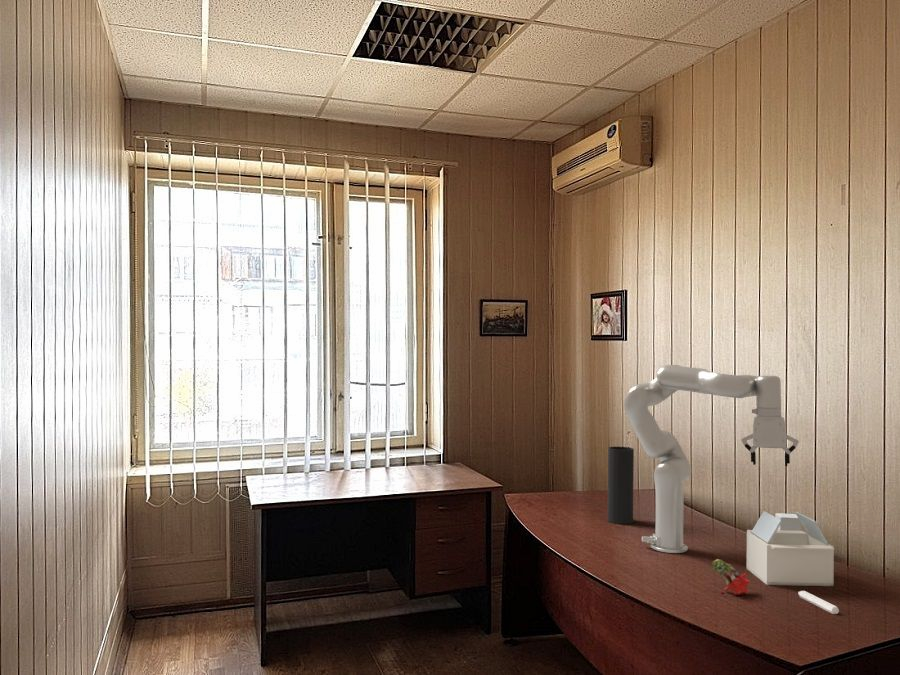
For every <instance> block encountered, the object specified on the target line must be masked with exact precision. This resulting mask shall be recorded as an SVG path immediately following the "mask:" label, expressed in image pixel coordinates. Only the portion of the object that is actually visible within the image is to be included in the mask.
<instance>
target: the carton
mask: <svg viewBox="0 0 900 675" xmlns="http://www.w3.org/2000/svg"><path fill="white" fill-rule="evenodd" d="M752 530H753V529H747V530H746V570H747V571H749V572H750V573H752V574H753V576H755V577H756V578H757V579H759V580H760V581H761V582H762V583H764V584H765V585H766V586H812V587H814V586H815V587H819V586H820V587H834V574H835V573H834V567H835V566H834V565H835V564H834V560H835V558H834V556H835V554H834V551H835V550H836V549H835V548H834V547H835V546H834V545H831V543H828V544H825V543H823V542H821V541H819V540H818V539H816V538H814V537H812V536H810V535H809V534H807V532H806V531H804V530H802V531H785V530H777V531H776V533H775V534H774V536H773V538H772V539H771V541H770V543H767V542H766V541H764V540H763V539H761V538H760V537H758V536H756V535H755V534H753V533H752Z"/></svg>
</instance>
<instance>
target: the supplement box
mask: <svg viewBox="0 0 900 675" xmlns="http://www.w3.org/2000/svg"><path fill="white" fill-rule="evenodd" d="M774 517H776V518H778V519H779V520H781V521H782V523H781V524H780V526H779V528H778V529H777V530H785V531H803V530H802V529H803V525H802V524H801V522H800V520H799V518H798V517H797V515H796V513H781V512H780V513H779V512H778V513H777V512H775V515H774Z"/></svg>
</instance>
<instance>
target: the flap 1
mask: <svg viewBox="0 0 900 675" xmlns="http://www.w3.org/2000/svg"><path fill="white" fill-rule="evenodd" d="M781 523H782V521H781V520H779V519H778V518H776V517H775V515H772V514H771V513H769V512H767V511H765V510H763V512H762V513H761V514H760V517H759V519H758V520H757V522H756V523H755V525H754V526H753V529H751V530H752V533H753V534H755V535H756V536H758V537H760V538H761V539H763V540H764V541H766V542H767V543H770V541H771V539H772V538H773V536H774V534H775V533H776V531H777V529H778V528H779V526H780V524H781Z"/></svg>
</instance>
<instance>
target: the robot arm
mask: <svg viewBox="0 0 900 675" xmlns="http://www.w3.org/2000/svg"><path fill="white" fill-rule="evenodd" d="M781 382H782V381H781V378H780V377H779V376H777V375H751V374H739V375H738V374H735V375H734V374H728V373H727V374H726V373H718V372H713V371H710V370H707V369H706V368H700V367H698V368H697V367H691V366H683V365H678V364H667V365H666V364H665V365H663V366H661V367H660V368H659V369H658V371H657V373H656V377H655V378H654V379H653V380H651V381H650V382H647V383H638V384H636V385H634V386H633V387H631V388H630V389H629V390H628V392H627V393H626V395H625V397H624V400H623V401H624V402H623V407H624V412H625V415H626V417H627V420H628V421H629V423H630V425H631V427H632V429H633V430H634V434H635V435H636V437H637V440H638V441H639V443H640V445H641V447H642V449H643V452H644V453H645V454H646V455H647V456H648V457H649V458H651V459H658V460H659V461H660V462H659V463H657V465H656V466H655V468H654V473H653V481H654V489H655V518H654V519H655V533H652V535H650V536H647V535H646V536H645V535H644V536H643V535H642V536H641V542H643V543H646V544H650V548H651V549H652V550H655V551H658V552H662V553H668V554H669V553H670V554H680V553H685V552H687V551H688V550H689V549H688V546H687V544H684V491H683V483H684V482H687V481H688V480H689V479H690V477H691V474H692V467H691V464H690V461H689V459H688V458H687V455H686V454H685V452H684V449H683V448H682V447H681V445H680V443H679V441H678V440H677V438H676V437H675V436H674V434H672V433H671V432H670V431H668V430H664V429H661V428H660V426H659V424H658V422H657V420H656V419H655V416H653V414H652V413H651V412H650V410H649V407H652V406H653V407H654V406H657V405H659V404H661V403H663V402H664V401H666V399H668V398H669V397H670V396H672V395H673V394H675V393H676V392H677V391H684V392H685V391H686V392H690V393H691V392H692V393H697V394H704V395H712V396H718V397H719V396H720V397H726V398H733V399H743V398H748V397H750V398H751V397H755V399H756V400H755V402H756V404H755V405H756V408H754V409H751V414H755V415H756V416H754V417H753V424H752V433H751V434H748V435H747V436H744V437H742V438H741V442H742V444H743V446H744V447H745V449H746V450H747V451H749V453H750V462H751V463H752V465H753V466H756V463H757V462H756V458H757V457H756V450H757V449H758V448H762V449H782V450H783V451H784V466H785V467H788V464H790V463H791V462H790V460H791V458H790V457H791V456H790V454H791V453H793V451H795V450H796V448H797V446H798V444H799V442H800V441H799V439H796V438H794V437H792V436H790V435H788V434H787V429H786V422H785V421H786V420H785V418H784V417H783V416H782V387H781V386H782V385H781ZM749 440H752V446H751V445H750V444H748V441H749ZM787 441H790V442H792V444H791V446H790V447H787V445H788V444H787Z"/></svg>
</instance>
